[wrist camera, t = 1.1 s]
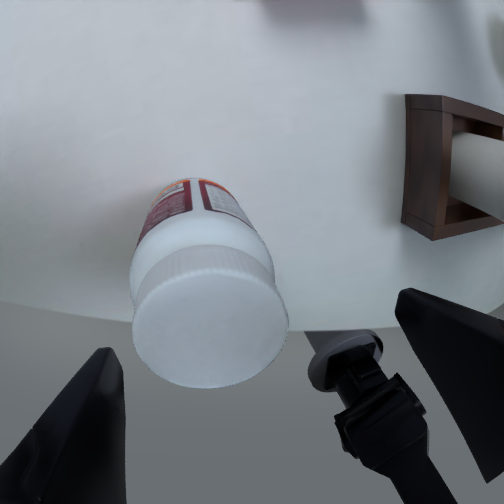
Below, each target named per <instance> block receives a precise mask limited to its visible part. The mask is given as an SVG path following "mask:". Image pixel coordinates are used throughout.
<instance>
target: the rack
mask: <svg viewBox="0 0 504 504" xmlns="http://www.w3.org/2000/svg"><path fill="white" fill-rule="evenodd" d="M405 97H406V167H405V185H404V198H403V209H402V218H401V223H403V224H405V225H407V226H408V227H410V228H412V229H413V230H415V231H417V232H418V233H420V234H421V235H423V236H425V237H426V238H428V239H430V240H431V241H434V240H439V239H443V238H447V237H452V236H456V235H460V234H464V233H468V232H473V231H477V230H481V229H485V228H489V227H493V226H497V225H501V224H504V222H503V221H501V220H500V219H498V218H496V217H494V216H492V215H490V214H488V213H486V212H484V211H482V210H480V209H478V208H475V207H473V206H471V205H469V204H467V203H465V202H463V201H460V200H458V199H456V198H454V197H451V196H449V195H448V192H449V182H450V171H451V156H452V130H457V131H462V132H466V133H471V134H476V135H480V136H484V137H488V138H492V139H496V140H500V141H503V142H504V115H502V114H500V113H497V112H494V111H492V110H489V109H486V108H483V107H480V106H477V105H474V104H471V103H468V102H464V101H461V100H457V99H454V98H450V97H447V96H443V95H424V94H406V95H405Z"/></svg>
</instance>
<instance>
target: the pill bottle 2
mask: <svg viewBox="0 0 504 504" xmlns="http://www.w3.org/2000/svg"><path fill="white" fill-rule="evenodd" d="M448 195H449V196H451V197H454V198H456V199H458V200H460V201H463V202H465V203H467V204H469V205H471V206H473V207H475V208H478V209H480V210H482V211H484V212H486V213H488V214H490V215H492V216H494V217H496V218H498V219H500V220H501V221H503V222H504V142H503V141H500V140H496V139H492V138H488V137H484V136H480V135H476V134H471V133H466V132H462V131H457V130H452V156H451V171H450V182H449V192H448Z"/></svg>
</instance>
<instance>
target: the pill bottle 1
mask: <svg viewBox="0 0 504 504" xmlns="http://www.w3.org/2000/svg"><path fill="white" fill-rule="evenodd" d="M274 281H275V275H274V267H273V262H272V259H271V256H270V254H269V252H268V250H267V247H266V245H265V243H264V242H263V240H262V239H261V237H260V236H259V235H258V233H257V232H256V230H255V228H254V227H253V225H252V224H251V222H250V221H249V219H248V218H247V216H246V215H245V213H244V212H243V210H242V209H241V207H240V206H239V204H238V203H237V201H236V200H235V198H234V197H233V196H232V195H231V194H230V192H229V191H227V190H226V189H225V188H224V187H223V186H221V185H219V184H218V183H215V182H213V181H210V180H207V179H201V178H190V179H184V180H180V181H177V182H175V183H173V184H171V185H169V186H168V187H166V188H165V189H164V190H163V191H162V192H161V193H160V194H159V195H158V196H157V197H156V199H155V200H154V202H153V203H152V205H151V207H150V210H149V212H148V215H147V217H146V220H145V223H144V226H143V229H142V232H141V234H140V237H139V240H138V243H137V246H136V249H135V252H134V255H133V258H132V262H131V268H130V275H129V287H130V294H131V298H132V301H133V304H134V306H135V311H134V316H133V322H132V337H133V342H134V345H135V349H136V351H137V353H138V355H139V357H140V358H141V359H142V361H143V362H144V363H145V364H146V366H147V367H148V368H149V369H150V370H152V371H153V372H154V373H155V374H157V375H158V376H160V377H161V378H163V379H165V380H167V381H169V382H171V383H174V384H177V385H181V386H185V387H189V388H196V389H213V388H221V387H227V386H231V385H234V384H238V383H240V382H243V381H245V380H247V379H249V378H251V377H253V376H255V375H257V374H258V373H260V372H261V371H262V370H264V369H265V368H266V367H267V366H268V365H270V363H272V362H273V361H274V359H275V358H276V357H277V356H278V354H279V353H280V351H281V350H282V347H283V345H284V343H285V341H286V338H287V333H288V327H289V320H288V314H287V310H286V308H285V305H284V302H283V300H282V298H281V296H280V294H279V292H278V290H277V288H276V285H275V283H274Z"/></svg>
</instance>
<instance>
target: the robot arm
mask: <svg viewBox="0 0 504 504" xmlns="http://www.w3.org/2000/svg"><path fill="white" fill-rule="evenodd" d="M395 316H396V318H397V320H398V322H399V324H400V326H401V328H402V329H403V331H404V333H405V335H406V337H407V339H408V341H409V343H410V345H411V347H412V349H413V351H414V352H415V354H416V356H417V357H418V359H419V360H420V362H421V363H422V365H423V367H424V368H425V370H426V372H427V373H428V375H429V377H430V378H431V380H432V382H433V383H434V385H435V387H436V388H437V390H438V392H439V393H440V395H441V397H442V398H443V400H444V402H445V404H446V405H447V407H448V409H449V411H450V412H451V414H452V416H453V418H454V420H455V422H456V423H457V425H458V427H459V429H460V431H461V433H462V435H463V437H464V439H465V440H466V443H467V445H468V447H469V449H470V451H471V453H472V455H473V457H474V459H475V461H476V463H477V465H478V467H479V469H480V472H481V474H482V476H483V478H484V480H485V482H486V483H489V482H490V481H491V480H493V479H494V478H496V477H497V476H498V475H500V474H501V473H502V472H504V321H503V320H501V319H497V318H495V317H492V316H489V315H487V314H484V313H481V312H479V311H476V310H473V309H470V308H468V307H465V306H462V305H459V304H456V303H454V302H451V301H448V300H445V299H442V298H439V297H437V296H434V295H431V294H428V293H425V292H422V291H419V290H416V289H414V288H407V289H403V290H401V291H400V292H399V295H398V299H397V303H396V307H395ZM375 349H376V344H375V342H371V343H368V344H365V345H362V346H359V347H356V348H353V349H350V350H347V351H344V352H341V353H338V354H334V355H331V356H330V357H329V358H328V362H327V368H326V375H325V381H324V389H325V390H330V389H333V388H335V389H336V391H337V393H338V394H339V396H340V398H341V400H342V402H343V403H344V405H345V407H346V410H344V411H343V412H341V413H339V414H336V415H335V416H334V418H335V420H336V421H335V425H336V427H337V429H338V432H339V434H340V438H341V443H342V448H343V450H344V451H345V452H348V453H350V454H351V455H352V456H353V457H354V458H355V459H358V458H359V459H360V461H361V462H362V464H363V465H364V466H365V467H367V468H369V469H371V470H373V471H375V472H377V473H379V474H382V475H384V476H386V477H388V478H390V479H391V481H392V483H393V484H394V486H395V488H396V489H397V492H398V493H399V495H400V497H401V499H402V501H403V502H404V504H457V502H456V500H455V498H454V497H453V495H452V494H451V492H450V490H449V489H448V487H447V486H446V484H445V482H444V481H443V479H442V477H441V476H440V474H439V472H438V471H437V469H436V468H435V466H434V465H433V463H432V462H431V460H430V458H429V456H428V455H429V429H428V426H427V423H426V421H425V420H424V418H423V417H422V416H423V415H424V414H426V410H425V409H424V407H423V405H422V403H421V402H420V400H419V399H418V397H417V396H416V395H415V393H414V392H413V391H412V390H411V388H410V387H409V386H408V385H407V384H406V382H405V381H404V380H403V379H402V377H401V376H400V375H399V374H398V373H396V374H395V375H394V376H393V377H392V378H391V379H389V380H388V378H387V377H386V375H385V374H384V373H383V371H382V370H381V367H380V366H379V365H378V363H377V362H376V360H375V359H374V358H373V356H374V352H375ZM125 418H126V417H125V401H124V382H123V370H122V366H121V364H120V362H119V360H118V358H117V356H116V354H115V352H114V351H113V349H112V348H110V347H105V348H99V349H97V350H96V351H95V352H94V353H93V355H92V356H91V357H90V358H89V359H88V361H86V363H85V364H84V365H83V366H82V367H81V368H80V370H79V371H78V372H77V373H76V374H75V375H74V377H73V378H72V379H71V380H70V381H69V383H68V384H67V385H66V386H65V387H64V389H63V390H62V391H61V392H60V394H59V395H58V396H57V397H56V398H55V399H54V401H53V402H52V403H51V404H50V406H49V407H48V408H47V409H46V410H45V412H44V413H43V414H42V416H41V417H40V418H39V419H38V421H37V422H36V423H35V424H34V426H33V429H30V431H29V432H28V433H27V435H26V436H25V437H24V438H23V440H22V441H21V442H20V443H19V445H18V446H17V447H16V449H15V450H14V451H13V452H12V453H11V454H10V455H9V456H8V458H7V459H6V460H5V461H4V462H3V463H2V464H1V465H0V504H126V503H127V502H126V483H125V426H126V425H125V424H126V423H125V421H126V419H125Z"/></svg>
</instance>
